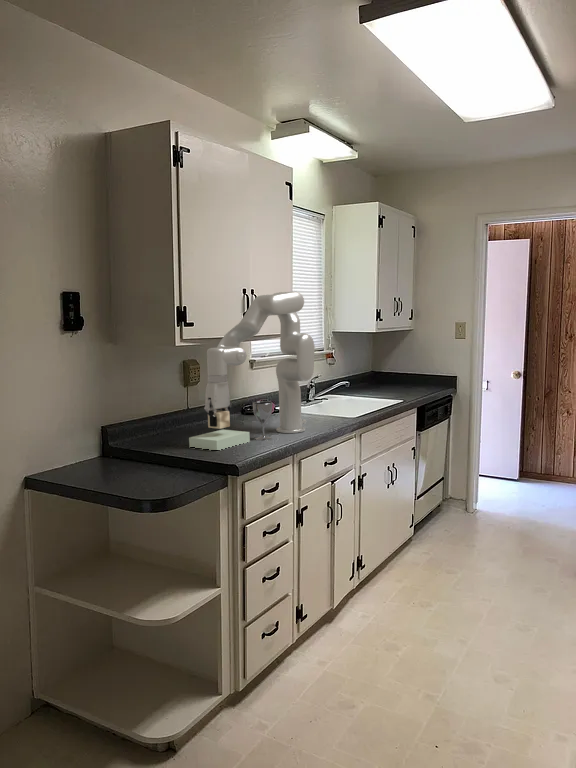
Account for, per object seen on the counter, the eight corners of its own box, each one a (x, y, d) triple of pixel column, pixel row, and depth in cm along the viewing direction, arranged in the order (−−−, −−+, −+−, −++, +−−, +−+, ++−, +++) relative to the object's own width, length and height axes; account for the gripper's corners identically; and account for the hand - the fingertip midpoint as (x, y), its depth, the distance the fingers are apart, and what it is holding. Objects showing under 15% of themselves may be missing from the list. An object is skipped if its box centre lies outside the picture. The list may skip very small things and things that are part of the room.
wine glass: (249, 439, 256) (248, 402, 255) (264, 436, 262) (263, 400, 260) (262, 441, 251) (261, 404, 249) (277, 438, 256) (276, 402, 255)
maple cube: (218, 425, 249) (217, 410, 249) (229, 426, 246) (229, 411, 245) (208, 427, 244) (207, 412, 244) (219, 428, 241) (219, 413, 240)
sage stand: (222, 438, 258) (222, 429, 258) (249, 441, 250) (249, 432, 250) (189, 447, 242) (189, 437, 241) (217, 451, 234) (216, 440, 233)
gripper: (224, 377, 252) (225, 421, 254) (195, 381, 238) (196, 427, 240) (239, 377, 248) (240, 422, 250) (210, 381, 234) (211, 429, 236)
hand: (219, 424), depth 245 cm, fingers closed on maple cube, 6 cm apart
